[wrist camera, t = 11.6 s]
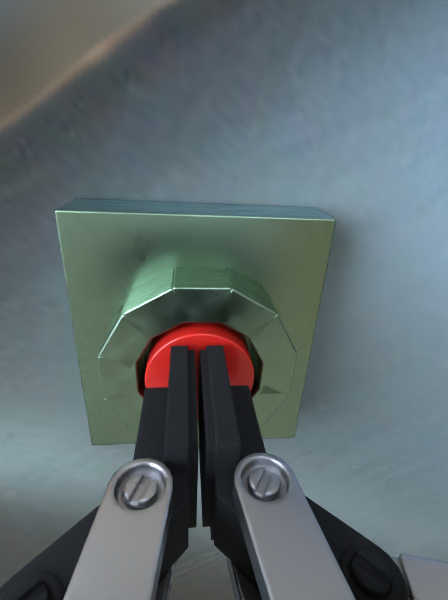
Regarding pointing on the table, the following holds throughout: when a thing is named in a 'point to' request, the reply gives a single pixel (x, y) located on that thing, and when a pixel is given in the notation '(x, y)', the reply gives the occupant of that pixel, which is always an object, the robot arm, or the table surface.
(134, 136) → the table surface
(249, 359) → the button
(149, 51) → the table surface
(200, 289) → the button block
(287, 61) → the table surface
